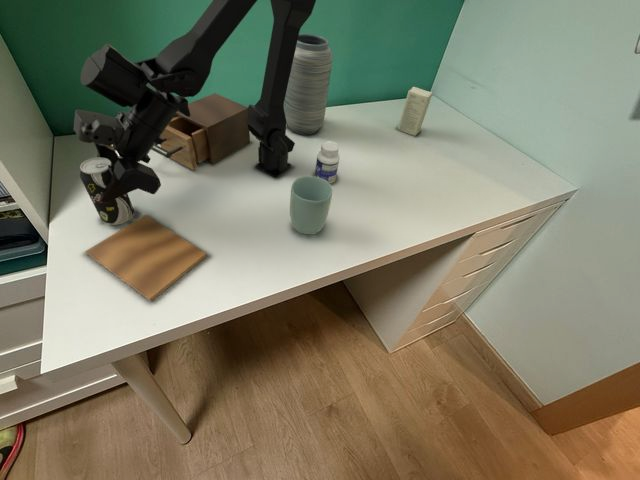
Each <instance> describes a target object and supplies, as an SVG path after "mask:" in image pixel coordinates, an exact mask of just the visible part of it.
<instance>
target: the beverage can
mask: <svg viewBox="0 0 640 480" xmlns="http://www.w3.org/2000/svg"><path fill="white" fill-rule="evenodd" d="M108 165H110V166H112V167H115V165H113V164H112V163H111V161H110V160H109V159H106V158H101V157H97V156H96V157H92V158H91V157H90V158H88V159H86V160H84V161H83V162H82V163H81V164H80V167H79V169H80V172H79V178H80V180H81V182H82V184H83V186H84V188H85V190H86V192H87V194H88V196H89V199H90V200H91V202H92V204H93V206H94V208H95V210H96V213H97V214H98V216H99V218H100V220H101V221H102V223H104V224H106V225H113V226H115V225H122V224H124V223H126V222H129V221H130V220H131V219H132V218H133V216H134V214H135V209H134V207H133V204H132V201H131V199H130V196H129V193H126V194H124V195H122V196H120V197H118V198H116V199H114V200H112V201H110V202H108V203H104V202H101V201H100V199H101V196H102V194H103V192H104V190H105V188H106V186H107V184H108V181H109V179H110V177H111V173H110V171H109V169H108Z"/></svg>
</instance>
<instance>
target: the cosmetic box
mask: <svg viewBox="0 0 640 480" xmlns="http://www.w3.org/2000/svg"><path fill="white" fill-rule="evenodd" d="M432 96H433V92H432V91H428V90H425V89H422V88H421V87H420V88H419V87H416V86H412V87H411V88H410V89H409V90H408V92H407V95H406V98H405V102H404V105H403V109H402V113H401V116H400V119H399V123H398V126H397V130H398V131H400V132H403V133H406V134H409V135H410V136H414V137H416V136H417V135H418V134H419V133H420V131H421V129H422V125H423V123H424V120H425V117H426V114H427V111H428V108H429V105H430V103H431V99H432Z"/></svg>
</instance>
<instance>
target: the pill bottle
mask: <svg viewBox="0 0 640 480" xmlns="http://www.w3.org/2000/svg"><path fill="white" fill-rule="evenodd" d="M339 147H340V146H339V144H337V142H334V141H329V140H328V141H327V140H326V141H323V142H322V143H321V146H320V150H319V151H318V153H317V155H316V162H315V170H314V177H319V178H322V179H324V180H326V181H327V182H328V183H329V184H333V183H334V182H335V181H336V179H337V173H338V168H339V165H340V164H339V163H340V154H339V150H340V148H339Z"/></svg>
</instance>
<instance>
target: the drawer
mask: <svg viewBox="0 0 640 480" xmlns="http://www.w3.org/2000/svg"><path fill="white" fill-rule="evenodd" d="M161 138H162V139H163V140H164V141H163V142H162V144H161V145H160V146H159V144H158V143H155V144H154V146H153V147H152V149H151V150H150V151H152V152H155V153H157V154H159V155H160V156H162V157H164V158H166V159H172V160H174V161H175V162H177V163H179V164H181V165H183V166H184V167H186V168H188V169H190V170H192V171H194V170H196V169H197V168H198V165H197V163H198V164H200V163H202V162H204V161H205V160H206V159H208V158H209V150H208V143H207V136H206V129H204V128H201V127H199V126H197V125H195V124H193V123H191V122H189V121H187V120H185V119H183V118H181V117H179V116H178V117H175V118H172V120H171V121H170V123H169V124H168V126H167V127H166V128H165V130H164V131H163V133H162V134H161Z"/></svg>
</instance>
